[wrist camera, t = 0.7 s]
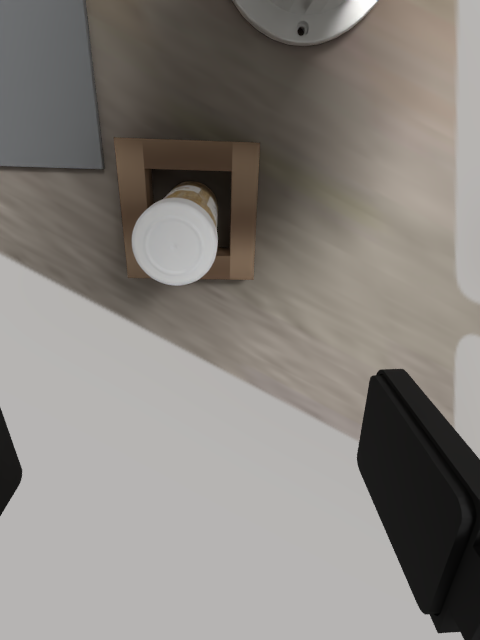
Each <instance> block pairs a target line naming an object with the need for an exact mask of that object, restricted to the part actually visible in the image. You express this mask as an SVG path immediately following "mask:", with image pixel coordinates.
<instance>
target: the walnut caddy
mask: <svg viewBox="0 0 480 640" xmlns="http://www.w3.org/2000/svg"><path fill="white" fill-rule="evenodd" d="M114 145H115V155H116V165H117V175H118V185H119V195H120V204H121V214H122V224H123V234H124V244H125V254H126V263H127V273H128V278H151V277H150V276H149V275H147V274H146V273H145V272H144V271H143V270H142V268H141V267H140V266H139V264H138V263H137V261H136V259H135V256H134V253H133V249H132V233H133V229H134V226H135V224H136V222H137V220H138V218H139V217H140V216H141V215H142V213H143V212H144V211H145V210H146V209H147V208H149V207H150V206H151V205H153V204H154V201H153V185H152V170H151V169H172V170H204V171H231V200H230V248H229V247H217V253H216V257H215V260H214V263H213V264H212V266H211V268H210V269H209V271H208V272H207V273H206V274H205V275H204V276H203V277H202V278H200V279H232V280H253V277H254V256H255V236H256V216H257V195H258V175H259V154H260V143H254V142H226V141H198V140H170V139H143V138H115V137H114Z"/></svg>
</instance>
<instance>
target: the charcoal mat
mask: <svg viewBox="0 0 480 640" xmlns="http://www.w3.org/2000/svg"><path fill="white" fill-rule="evenodd" d="M0 166H20V167H52V168H84V169H105V167H104V158H103V149H102V140H101V132H100V123H99V114H98V105H97V97H96V88H95V79H94V71H93V62H92V53H91V44H90V36H89V27H88V18H87V10H86V1H85V0H0Z"/></svg>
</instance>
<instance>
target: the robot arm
mask: <svg viewBox="0 0 480 640" xmlns="http://www.w3.org/2000/svg"><path fill="white" fill-rule="evenodd" d="M232 1H233V3H234V4H235V6H236V7H237V8H238V10H239V11H240V13H241V14H242V16H243V17H244V18H245V19H246V20H247V21H248V22H249V23H250V24H251V25H252V26H253V27H254V28H255V29H257V30H258V31H260V32H261V33H263V34H264V35H266V36H268V37H269V38H271V39H273V40H276V41H279V42H282V43H284V44H288V45H297V46H309V45H317V44H321V43H324V42H327V41H330V40H332V39H335V38H337V37H339V36H340V35H342V34H343V33H345V32H347V31H348V30H350V29H351V28H352V27H354V26H355V25H356V24H357V23H358V22H359V21H361V20H362V19H363V18H364V17H365V16H366V14H367V13H368V12H369V11H370V10H371V9H372V8H373V7H374V6H375V5H376V3H377V2H378V1H379V0H232ZM299 28H301V29H303V32H304V34H303V35H302V36H300V35H298V33H297V30H298V29H299ZM357 462H358V467H359V470H360V472H361V475H362V477H363V479H364V482H365V484H366V487H367V488H368V491H369V493H370V496H371V498H372V500H373V503H374V505H375V507H376V510H377V512H378V514H379V517H380V519H381V521H382V523H383V526H384V528H385V530H386V533H387V535H388V537H389V540H390V542H391V544H392V546H393V549H394V551H395V553H396V555H397V558H398V560H399V563H400V565H401V567H402V570H403V572H404V574H405V576H406V579H407V581H408V583H409V586H410V588H411V590H412V593H413V595H414V597H415V600H416V602H417V604H418V606H419V608H420V610H421V611H422V612H423V613H424V614H430V616H431V619H432V621H433V623H434V625H435V628H436V630H437V632H438V633H447V632H461V634H462V636H463V638H464V640H480V460H479V458H478V457H477V456H476V455H475V453H474V452H473V451H472V450H471V448H470V447H469V446H468V445H467V444H466V443H465V441H464V440H463V439H462V438H461V437H460V436H459V434H458V433H457V432H456V431H455V429H454V428H453V427H452V426H451V425H450V423H449V422H448V421H447V420H446V419H445V417H444V416H443V415H442V414H441V413H440V411H439V410H438V409H437V408H436V407H435V405H434V404H433V403H432V402H431V401H430V400H429V398H428V397H427V396H426V395H425V394H424V392H423V391H422V390H421V389H420V388H419V386H418V385H417V384H416V383H415V382H414V380H413V379H412V378H411V377H410V376H409V374H408V373H407V372H406V371H405V370H404V369H385V370H379V371H378V372H377V375H376V376H371V378H370V382H369V388H368V394H367V400H366V406H365V412H364V417H363V423H362V429H361V435H360V441H359V448H358V453H357ZM21 478H22V468H21V465H20V462H19V460H18V457H17V454H16V451H15V448H14V446H13V443H12V440H11V437H10V434H9V431H8V428H7V425H6V422H5V420H4V417H3V414H2V411H1V408H0V516H1V514H2V512H3V511H4V509H5V507H6V506H7V504H8V502H9V501H10V499H11V497H12V496H13V494H14V492H15V490H16V489H17V487H18V486H19V484H20V481H21Z"/></svg>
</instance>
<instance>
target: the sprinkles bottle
mask: <svg viewBox="0 0 480 640" xmlns="http://www.w3.org/2000/svg"><path fill="white" fill-rule="evenodd" d="M217 216H218V203H217V200H216V198H215V195H214V194H213V192H212V191H211V190H210V189H209V188H208V187H207V186H206V185H204V184H202V183H199V182H194V181H186V182H183V183H180V184H178V185H176V186H175V187H174V188H173V189H172V190H171V191H170V193H168V194H167V196H166V197H165V198H163V199H162V200H160V201H158V202H156V203H154V204H153V205H151V206H150V207H149V208H147V209H146V210H145V211H144V212H143V213H142V215H141V216H140V217H139V218H138V220H137V222H136V224H135V226H134V229H133V233H132V249H133V253H134V256H135V259H136V261H137V263H138V264H139V266H140V267H141V268H142V270H143V271H144V272H145V273H146V274H147V275H149V276H150V277H151V278H153V279H154V280H156V281H158V282H161V283H163V284H167V285H175V286H180V285H186V284H190V283H193V282H195V281H197V280H199V279H200V278H202V277H203V276H204V275H205V274H206V273H207V272H208V271H209V269H210V268H211V266H212V264H213V263H214V260H215V257H216V253H217V246H218V234H217Z"/></svg>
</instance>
